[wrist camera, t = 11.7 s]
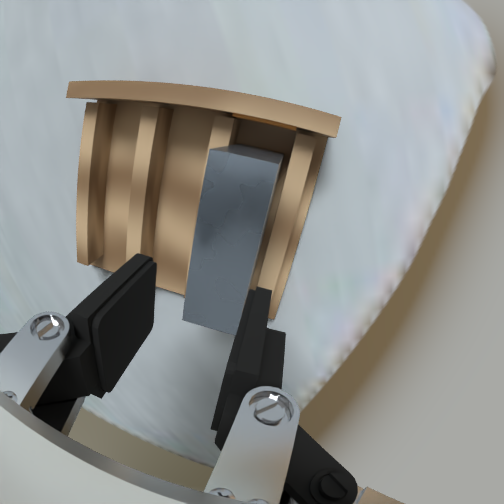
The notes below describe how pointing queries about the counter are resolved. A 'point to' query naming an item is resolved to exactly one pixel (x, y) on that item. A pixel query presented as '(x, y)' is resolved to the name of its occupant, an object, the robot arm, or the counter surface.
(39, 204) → the counter surface
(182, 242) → the rack
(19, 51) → the counter surface
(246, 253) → the block
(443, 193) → the counter surface
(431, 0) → the counter surface
